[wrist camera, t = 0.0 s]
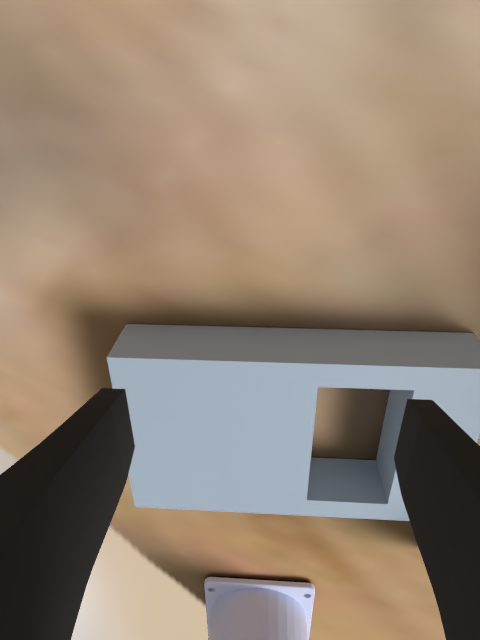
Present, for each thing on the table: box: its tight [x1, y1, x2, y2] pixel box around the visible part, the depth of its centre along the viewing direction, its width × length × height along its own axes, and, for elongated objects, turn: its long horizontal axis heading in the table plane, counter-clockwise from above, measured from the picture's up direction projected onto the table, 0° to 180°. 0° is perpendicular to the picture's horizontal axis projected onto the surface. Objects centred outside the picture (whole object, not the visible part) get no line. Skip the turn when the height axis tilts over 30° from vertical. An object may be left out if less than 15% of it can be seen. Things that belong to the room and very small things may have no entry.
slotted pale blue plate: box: [107, 324, 480, 521], centre depth 23 cm, size 10×17×3 cm, turn 91°
